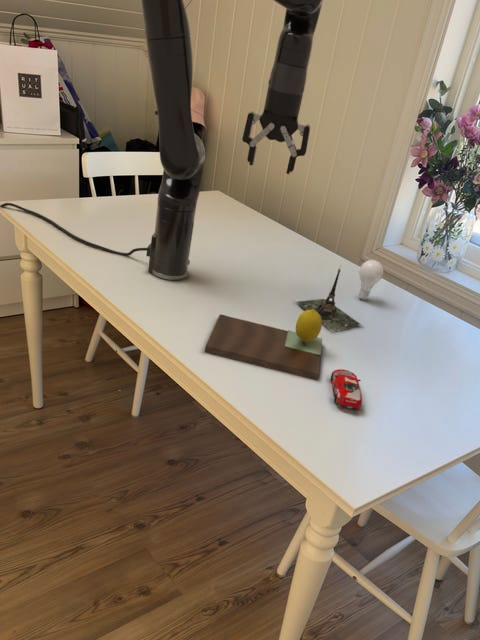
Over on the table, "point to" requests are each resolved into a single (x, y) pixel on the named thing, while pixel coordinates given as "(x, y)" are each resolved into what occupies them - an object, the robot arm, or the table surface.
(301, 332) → the lemon
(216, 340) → the board
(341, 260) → the table surface
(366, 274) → the lightbulb
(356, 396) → the race car
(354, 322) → the eiffel tower souvenir
